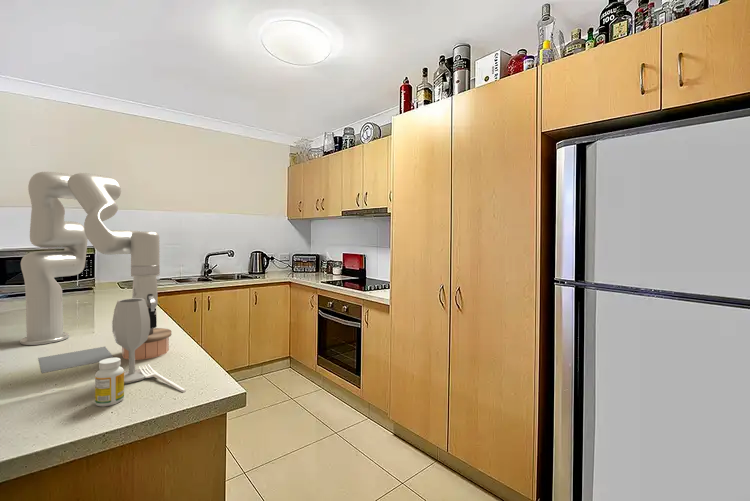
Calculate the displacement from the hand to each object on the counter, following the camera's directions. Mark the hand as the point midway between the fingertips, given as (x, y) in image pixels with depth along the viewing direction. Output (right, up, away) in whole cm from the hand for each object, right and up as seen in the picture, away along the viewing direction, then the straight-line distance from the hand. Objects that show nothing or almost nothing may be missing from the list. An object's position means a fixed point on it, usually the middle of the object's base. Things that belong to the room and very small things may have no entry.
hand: (145, 325), depth 111 cm
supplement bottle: (+11, -12, -30) cm, 34 cm away
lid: (0, -4, 0) cm, 4 cm away
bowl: (0, -10, 0) cm, 10 cm away
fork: (+17, -11, -19) cm, 27 cm away
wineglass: (+7, -11, -16) cm, 21 cm away
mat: (-17, -10, -6) cm, 20 cm away
